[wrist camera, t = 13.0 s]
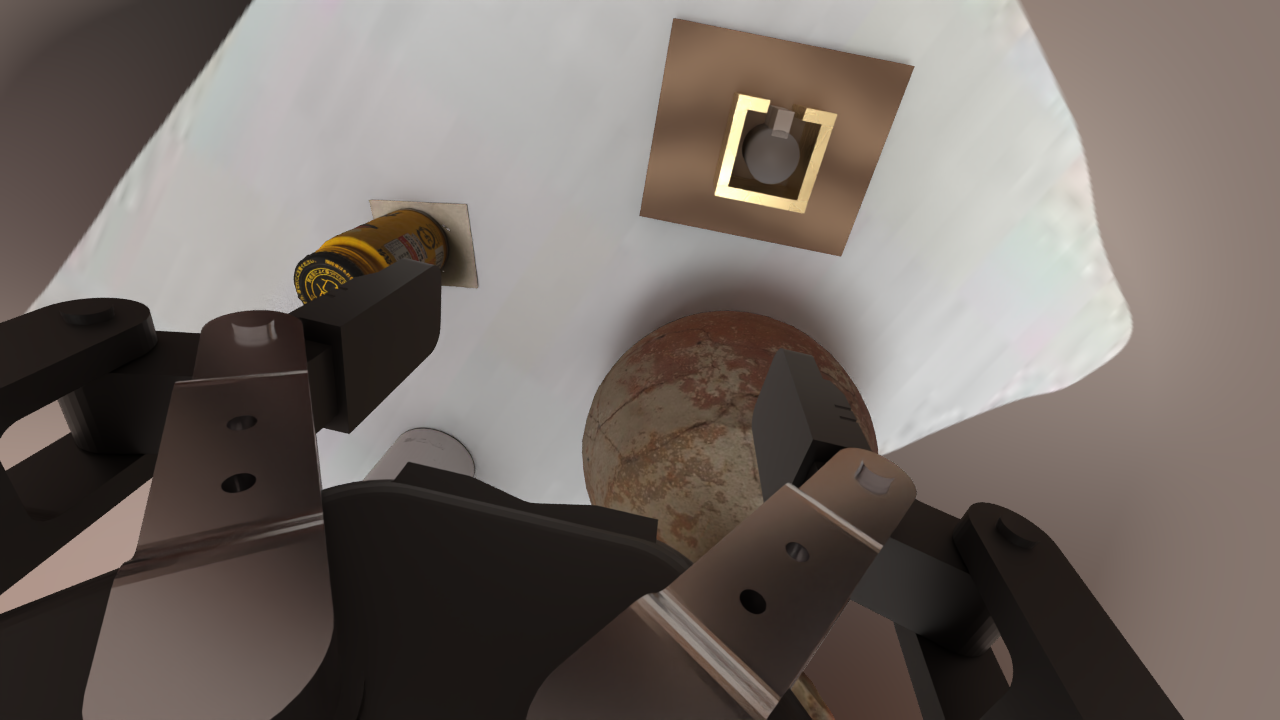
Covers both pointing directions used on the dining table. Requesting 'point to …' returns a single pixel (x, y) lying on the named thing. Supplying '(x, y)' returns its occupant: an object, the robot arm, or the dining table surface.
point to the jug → (696, 431)
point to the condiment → (393, 247)
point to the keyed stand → (767, 132)
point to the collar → (799, 181)
